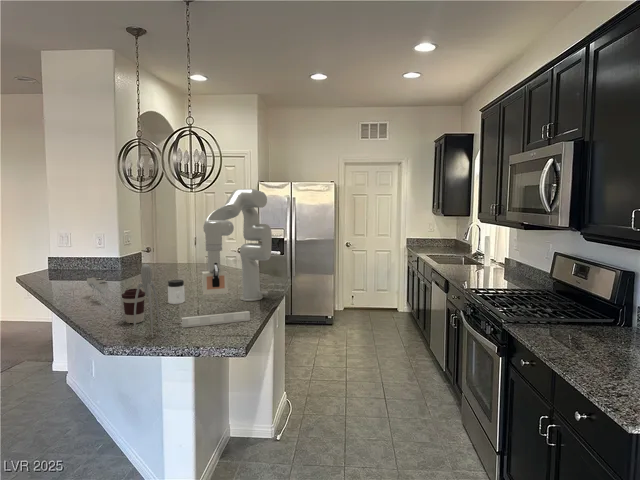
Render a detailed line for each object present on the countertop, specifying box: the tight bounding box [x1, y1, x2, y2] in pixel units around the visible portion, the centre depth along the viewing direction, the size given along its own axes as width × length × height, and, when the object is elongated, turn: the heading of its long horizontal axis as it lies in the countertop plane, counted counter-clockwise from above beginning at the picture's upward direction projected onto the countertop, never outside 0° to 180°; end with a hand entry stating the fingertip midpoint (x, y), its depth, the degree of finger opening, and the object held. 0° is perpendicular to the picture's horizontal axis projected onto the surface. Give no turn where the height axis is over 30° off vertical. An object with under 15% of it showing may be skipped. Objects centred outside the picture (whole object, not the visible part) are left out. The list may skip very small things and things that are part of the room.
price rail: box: [181, 310, 251, 329], centre depth 198 cm, size 30×2×4 cm, turn 111°
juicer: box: [133, 263, 161, 339], centre depth 181 cm, size 10×9×30 cm
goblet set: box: [86, 275, 110, 306], centre depth 246 cm, size 28×6×13 cm, turn 41°
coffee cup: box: [121, 288, 146, 324], centre depth 202 cm, size 10×10×15 cm
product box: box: [201, 269, 229, 296], centre depth 205 cm, size 6×11×10 cm, turn 111°
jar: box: [167, 279, 186, 305], centre depth 240 cm, size 9×8×12 cm
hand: (215, 285), depth 205 cm, fingers closed on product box, 6 cm apart
